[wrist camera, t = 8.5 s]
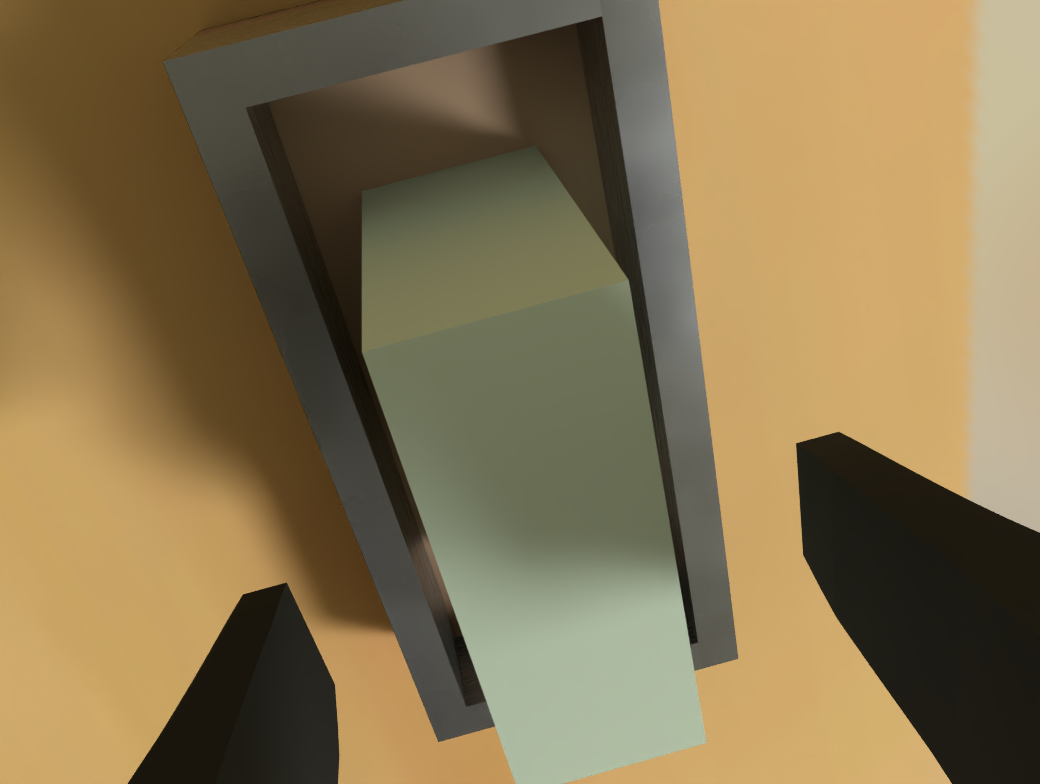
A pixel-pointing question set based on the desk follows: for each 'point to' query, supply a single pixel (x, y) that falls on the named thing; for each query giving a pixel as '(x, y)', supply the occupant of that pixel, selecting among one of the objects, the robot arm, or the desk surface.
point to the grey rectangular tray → (426, 149)
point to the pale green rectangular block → (531, 460)
